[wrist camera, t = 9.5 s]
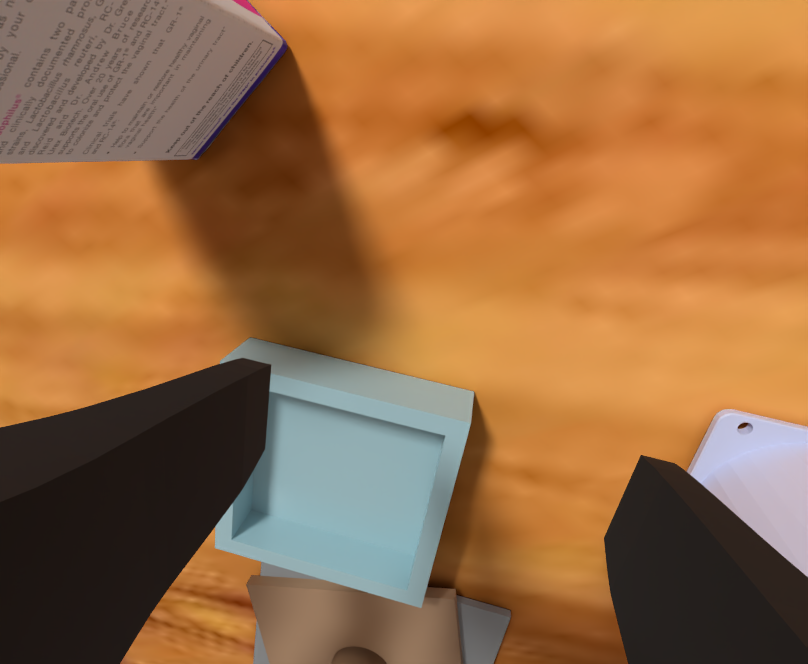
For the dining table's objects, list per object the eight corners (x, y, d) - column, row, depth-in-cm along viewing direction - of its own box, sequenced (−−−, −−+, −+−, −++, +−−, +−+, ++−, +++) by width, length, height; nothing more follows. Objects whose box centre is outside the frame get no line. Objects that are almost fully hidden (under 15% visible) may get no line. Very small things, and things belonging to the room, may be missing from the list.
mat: (510, 610, 25) (510, 617, 24) (455, 757, 30) (454, 765, 29) (266, 540, 26) (262, 546, 25) (253, 693, 31) (250, 699, 30)
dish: (474, 391, 20) (471, 423, 18) (428, 564, 24) (421, 607, 22) (250, 337, 22) (220, 360, 19) (240, 511, 25) (214, 548, 23)
